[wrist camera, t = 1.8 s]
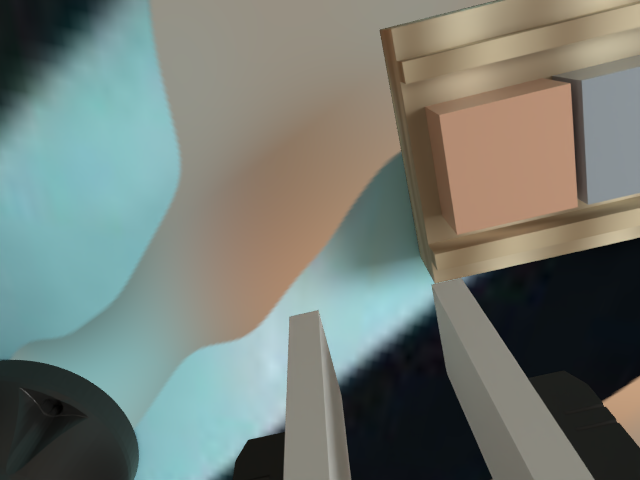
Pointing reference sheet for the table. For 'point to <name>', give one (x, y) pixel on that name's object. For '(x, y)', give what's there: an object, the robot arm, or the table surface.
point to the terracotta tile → (504, 154)
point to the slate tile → (606, 128)
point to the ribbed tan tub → (490, 74)
